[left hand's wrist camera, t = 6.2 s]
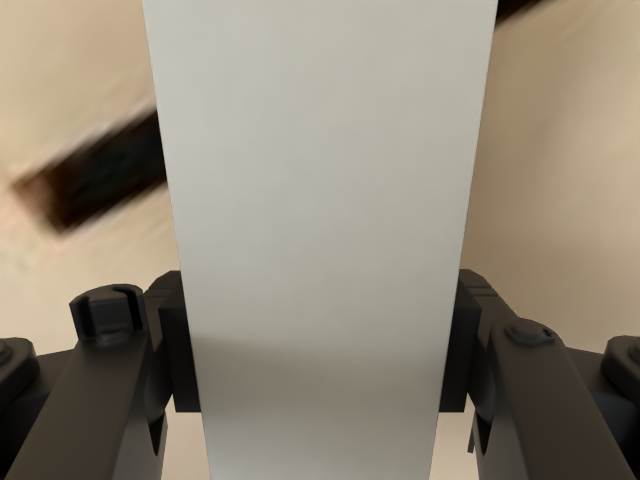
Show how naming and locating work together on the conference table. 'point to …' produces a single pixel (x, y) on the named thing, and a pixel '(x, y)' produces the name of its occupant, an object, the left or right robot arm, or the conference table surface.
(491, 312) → the left robot arm
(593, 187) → the conference table surface
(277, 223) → the beam
